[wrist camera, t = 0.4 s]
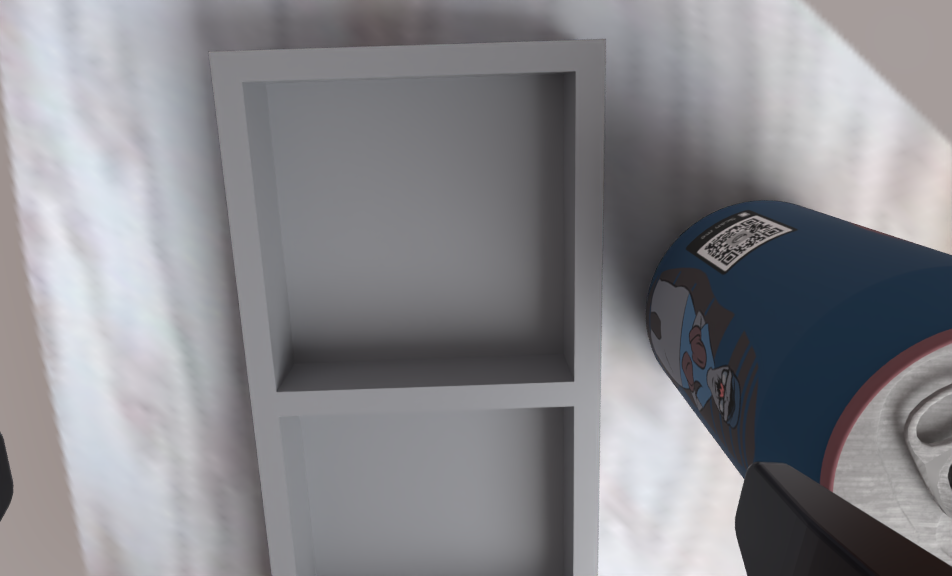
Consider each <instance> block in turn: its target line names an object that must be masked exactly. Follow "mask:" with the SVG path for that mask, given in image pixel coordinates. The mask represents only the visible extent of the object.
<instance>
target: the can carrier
mask: <svg viewBox="0 0 952 576" xmlns="http://www.w3.org/2000/svg"><path fill="white" fill-rule="evenodd" d="M209 61H210V69H211V77H212V85H213V94H214V102H215V110H216V118H217V127H218V135H219V143H220V152H221V160H222V168H223V176H224V185H225V193H226V201H227V209H228V218H229V226H230V234H231V243H232V251H233V259H234V267H235V276H236V284H237V292H238V300H239V309H240V317H241V325H242V334H243V342H244V350H245V358H246V367H247V375H248V383H249V391H250V400H251V408H252V416H253V424H254V433H255V441H256V449H257V458H258V466H259V474H260V482H261V491H262V499H263V507H264V515H265V524H266V532H267V540H268V549H269V557H270V565H271V573H272V576H598V534H599V467H600V399H601V332H602V265H603V198H604V131H605V64H606V39H590V40H558V41H526V42H495V43H463V44H431V45H399V46H368V47H336V48H304V49H272V50H240V51H209Z"/></svg>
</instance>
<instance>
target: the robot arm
mask: <svg viewBox="0 0 952 576" xmlns="http://www.w3.org/2000/svg"><path fill="white" fill-rule="evenodd" d="M12 495H13V479H12V475H11V470H10V466H9V461H8V457H7V452H6V447H5V443H4V439H3V436H2V434H1V433H0V521H1V519H2V517H3V516H4V514H5V512H6V510H7V509H8V507H9V504H10V502H11V499H12ZM735 530H736V536H737V540H738V544H739V547H740V551H741V554H742V558H743V562H744V565H745V569H746V572H747V576H952V566H951V565H949V564H947V563H946V562H944V561H943V560H941V559H939V558H938V557H936V556H934V555H933V554H931V553H930V552H928V551H926V550H925V549H923V548H922V547H920V546H918V545H917V544H915V543H914V542H912V541H910V540H909V539H907V538H906V537H904V536H902V535H901V534H899V533H897V532H896V531H894V530H893V529H891V528H889V527H888V526H886V525H885V524H883V523H881V522H880V521H878V520H877V519H875V518H873V517H872V516H870V515H869V514H867V513H865V512H864V511H862V510H860V509H859V508H857V507H856V506H854V505H852V504H851V503H849V502H848V501H846V500H844V499H843V498H841V497H840V496H838V495H836V494H835V493H833V492H832V491H830V490H828V489H827V488H825V487H824V486H822V485H820V484H819V483H817V482H815V481H814V480H812V479H811V478H809V477H807V476H806V475H804V474H803V473H801V472H799V471H798V470H796V469H795V468H793V467H791V466H790V465H788V464H785V463H778V462H754V463H752V464H751V465H750V466H749V467H748V469H747V472H746V475H745V479H744V483H743V487H742V491H741V495H740V499H739V504H738V508H737V512H736V517H735Z"/></svg>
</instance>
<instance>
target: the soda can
mask: <svg viewBox="0 0 952 576" xmlns="http://www.w3.org/2000/svg"><path fill="white" fill-rule="evenodd" d="M646 325H647V332H648V337H649V341H650V344H651V347H652V350H653V352H654V355H655V357H656V359H657V361H658V362H659V364H660V366H661V367H662V369H663V370H664V372H665V373H666V374H667V376H668V377H669V378H670V380H671V381H672V382H673V384H674V385H675V386H676V388H677V389H678V390H679V392H680V393H681V394H682V396H683V397H684V399H685V400H686V401H687V403H688V404H689V405H690V407H691V408H692V409H693V411H694V412H695V413H696V415H697V416H698V417H699V419H700V420H701V421H702V423H703V424H704V426H705V427H706V428H707V430H708V431H709V432H710V434H711V435H712V436H713V438H714V439H715V440H716V442H717V443H718V444H719V446H720V447H721V448H722V450H723V451H724V453H725V454H726V455H727V457H728V458H729V459H730V461H731V462H732V463H733V465H734V466H735V467H736V469H737V470H738V471H739V473H740V474H741V475H742V477H743V478H744V479H745V475H746V472H747V469H748V467H749V466H750V465H751V464H752V463H754V462H778V463H785V464H788V465H790V466H791V467H793V468H795V469H796V470H798V471H799V472H801V473H803V474H804V475H806V476H807V477H809V478H811V479H812V480H814V481H815V482H817V483H819V484H820V485H822V486H824V487H825V488H827V489H828V490H830V491H832V492H833V493H835V494H836V495H838V496H840V497H841V498H843V499H844V500H846V501H848V502H849V503H851V504H852V505H854V506H856V507H857V508H859V509H860V510H862V511H864V512H865V513H867V514H869V515H870V516H872V517H873V518H875V519H877V520H878V521H880V522H881V523H883V524H885V525H886V526H888V527H889V528H891V529H893V530H894V531H896V532H897V533H899V534H901V535H902V536H904V537H906V538H907V539H909V540H910V541H912V542H914V543H915V544H917V545H918V546H920V547H922V548H923V549H925V550H926V551H928V552H930V553H931V554H933V555H934V556H936V557H938V558H939V559H941V560H943V561H944V562H946V563H947V564H949V565H951V566H952V255H949V254H946V253H943V252H940V251H937V250H934V249H931V248H928V247H925V246H922V245H919V244H916V243H913V242H909V241H906V240H903V239H900V238H897V237H894V236H891V235H888V234H885V233H882V232H879V231H876V230H873V229H869V228H866V227H863V226H860V225H857V224H854V223H851V222H848V221H845V220H842V219H839V218H836V217H833V216H829V215H826V214H823V213H820V212H817V211H814V210H811V209H808V208H805V207H802V206H799V205H795V204H791V203H787V202H781V201H767V200H762V201H750V202H744V203H739V204H735V205H732V206H728V207H726V208H723V209H720V210H718V211H716V212H714V213H712V214H710V215H708V216H706V217H704V218H703V219H701V220H700V221H698V222H696V223H695V224H694V225H692V226H691V227H690V228H689V229H687V230H686V231H685V232H684V233H683V234H682V235H681V236H680V237H679V238H678V239H677V240H676V241H675V242H674V243H673V244H672V246H671V247H670V248H669V249H668V251H667V252H666V254H665V255H664V257H663V258H662V260H661V262H660V263H659V265H658V267H657V269H656V271H655V274H654V276H653V279H652V282H651V285H650V289H649V293H648V298H647V305H646Z"/></svg>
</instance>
